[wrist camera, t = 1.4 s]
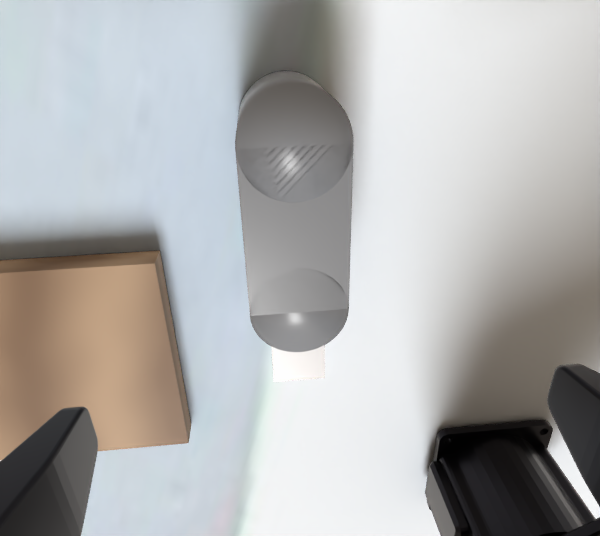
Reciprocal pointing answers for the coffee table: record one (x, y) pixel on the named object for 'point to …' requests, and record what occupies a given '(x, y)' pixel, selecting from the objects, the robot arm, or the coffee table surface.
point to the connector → (295, 218)
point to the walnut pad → (90, 349)
